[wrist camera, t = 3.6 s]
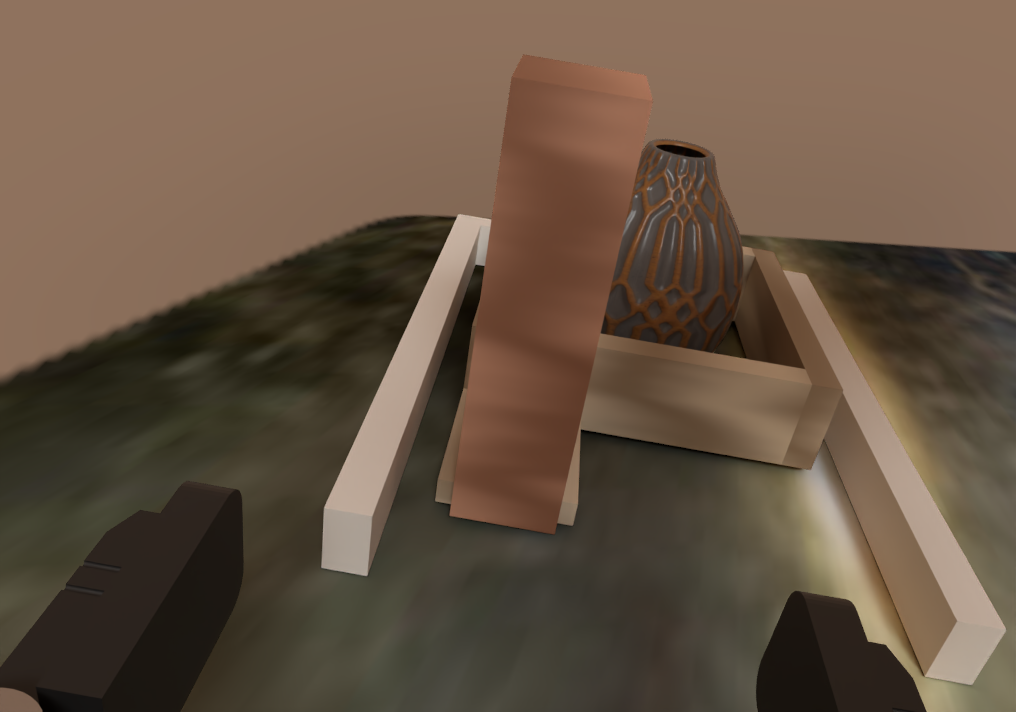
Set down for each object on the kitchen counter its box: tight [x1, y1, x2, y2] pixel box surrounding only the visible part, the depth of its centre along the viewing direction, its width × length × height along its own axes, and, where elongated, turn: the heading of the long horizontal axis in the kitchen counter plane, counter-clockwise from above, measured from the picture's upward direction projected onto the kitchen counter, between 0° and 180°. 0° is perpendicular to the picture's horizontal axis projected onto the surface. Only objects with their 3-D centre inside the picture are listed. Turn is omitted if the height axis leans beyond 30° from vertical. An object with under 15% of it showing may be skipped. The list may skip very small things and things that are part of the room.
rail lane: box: [321, 214, 1006, 685], centre depth 30 cm, size 17×22×2 cm
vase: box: [601, 139, 743, 353], centre depth 31 cm, size 7×7×9 cm
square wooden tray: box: [435, 55, 843, 534], centre depth 28 cm, size 12×18×12 cm
